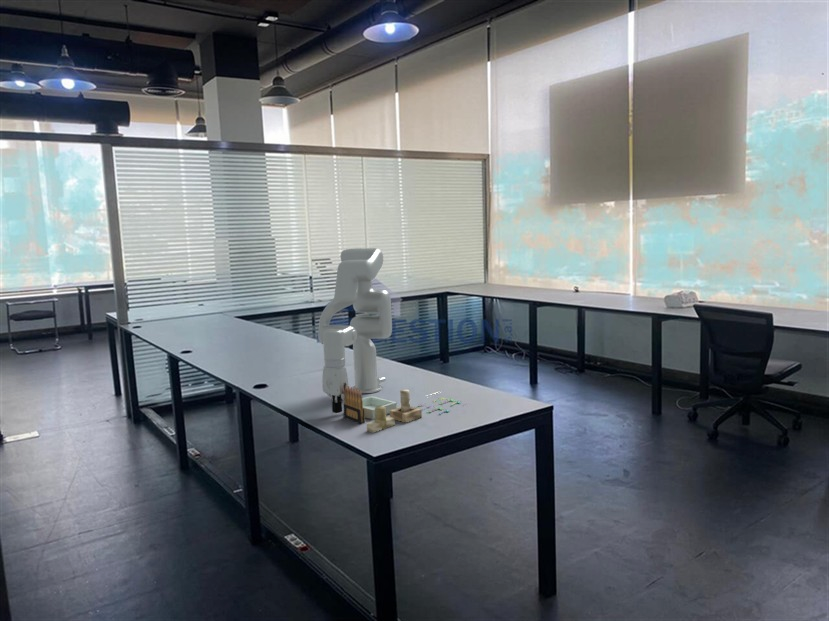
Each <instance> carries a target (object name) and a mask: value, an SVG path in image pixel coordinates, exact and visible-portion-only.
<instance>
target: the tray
mask: <svg viewBox="0 0 829 621" xmlns="http://www.w3.org/2000/svg"><path fill="white" fill-rule="evenodd" d="M362 401H363V409H364V418H367V419H370V420H375V408H376V407H380V406H382V407H386V416H389V415H390V410H393V409H396V408H397V405H398V404H397V403H398V402H396V401H394V400H393V401H392V400H389V399H385V398H382V397H376V396H372V395H370V396H367V397H362Z"/></svg>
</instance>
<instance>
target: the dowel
mask: <svg viewBox="0 0 829 621" xmlns="http://www.w3.org/2000/svg"><path fill="white" fill-rule="evenodd" d="M399 392H400V404H401V412H405V413H406V412H409V411H410V407H411V404H410V401H411V400H410V399H411V398H410V390H409V389H401V390H399Z"/></svg>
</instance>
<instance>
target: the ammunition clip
mask: <svg viewBox="0 0 829 621" xmlns="http://www.w3.org/2000/svg"><path fill="white" fill-rule="evenodd" d="M352 387H353V386H349V385H348V388H347V386H346V385H345V395H346V398H345V399H343V401H344V402H343V418H345V419H348V420H349V421H351V420H352V422H354V423H356V422H357V423H356V424H359V425H362V423H363V424H366V422H365V417H364V409H363V401H362V399H363V397H362V396H363V395H362V394H363V393H361V391H360V390H359V393H358V389H356V391H355V388H353V389H352Z"/></svg>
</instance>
